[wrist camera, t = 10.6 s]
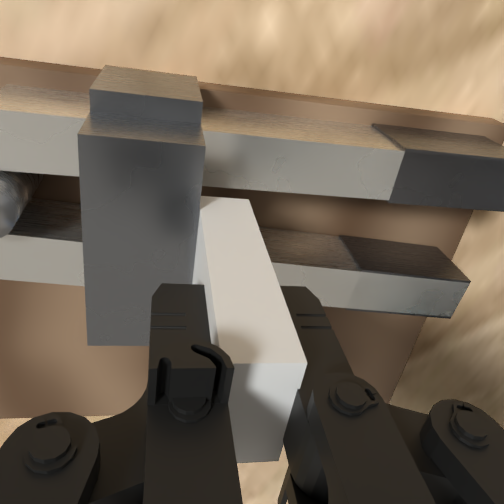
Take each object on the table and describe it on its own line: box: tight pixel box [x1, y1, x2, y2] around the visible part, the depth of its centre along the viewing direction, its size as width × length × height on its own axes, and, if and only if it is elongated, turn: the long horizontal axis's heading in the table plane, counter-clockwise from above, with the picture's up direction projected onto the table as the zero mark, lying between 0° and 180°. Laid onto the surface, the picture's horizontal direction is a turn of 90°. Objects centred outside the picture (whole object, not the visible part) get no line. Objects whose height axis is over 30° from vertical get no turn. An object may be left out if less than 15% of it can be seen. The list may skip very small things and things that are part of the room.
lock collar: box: [77, 65, 206, 346], centre depth 15 cm, size 3×7×6 cm, turn 171°
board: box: [0, 57, 504, 419], centre depth 21 cm, size 24×17×1 cm
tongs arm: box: [0, 171, 471, 319], centre depth 17 cm, size 19×4×4 cm, turn 77°
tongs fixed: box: [0, 84, 504, 212], centre depth 16 cm, size 23×6×3 cm, turn 81°
